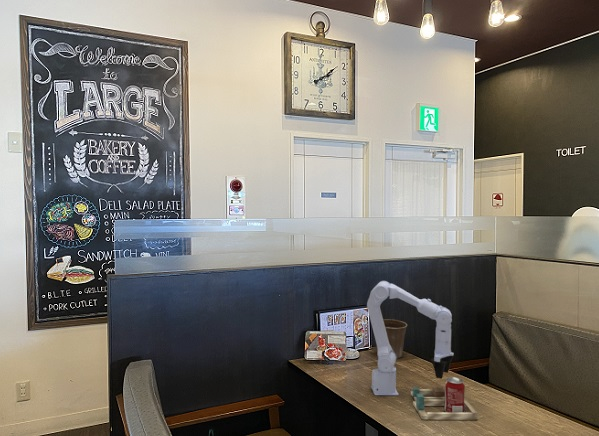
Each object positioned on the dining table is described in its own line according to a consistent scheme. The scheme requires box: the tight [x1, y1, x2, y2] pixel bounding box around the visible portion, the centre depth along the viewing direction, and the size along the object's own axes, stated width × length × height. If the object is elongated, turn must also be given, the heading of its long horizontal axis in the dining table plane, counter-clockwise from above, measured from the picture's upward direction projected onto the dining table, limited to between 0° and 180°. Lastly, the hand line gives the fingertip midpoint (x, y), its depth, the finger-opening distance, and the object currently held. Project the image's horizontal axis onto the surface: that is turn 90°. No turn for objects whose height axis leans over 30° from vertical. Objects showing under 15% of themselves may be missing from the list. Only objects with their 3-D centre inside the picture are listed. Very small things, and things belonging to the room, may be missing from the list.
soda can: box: [443, 376, 466, 412], centre depth 166 cm, size 7×7×12 cm
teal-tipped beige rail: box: [412, 394, 478, 421], centre depth 166 cm, size 20×12×6 cm, turn 91°
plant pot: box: [376, 318, 408, 360], centre depth 228 cm, size 16×16×16 cm
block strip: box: [410, 386, 445, 401], centre depth 177 cm, size 15×8×4 cm, turn 91°
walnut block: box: [431, 386, 445, 397], centre depth 177 cm, size 4×4×4 cm
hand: (442, 374), depth 177 cm, fingers open, 7 cm apart
